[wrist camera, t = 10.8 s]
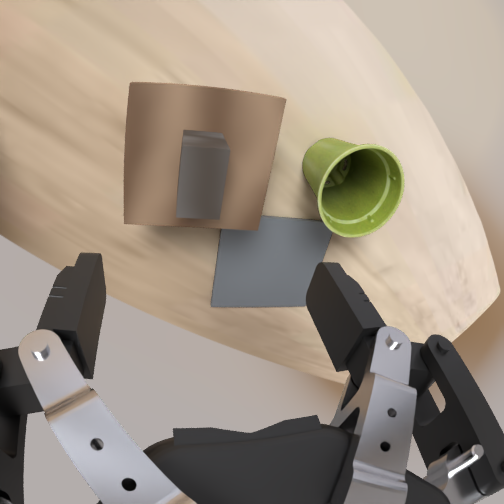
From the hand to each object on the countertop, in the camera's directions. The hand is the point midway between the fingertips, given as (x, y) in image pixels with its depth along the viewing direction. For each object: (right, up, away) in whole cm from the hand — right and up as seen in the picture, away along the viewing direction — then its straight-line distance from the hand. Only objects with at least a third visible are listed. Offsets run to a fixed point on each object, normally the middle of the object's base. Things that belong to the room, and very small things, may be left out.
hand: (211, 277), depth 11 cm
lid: (-3, +9, +13) cm, 16 cm away
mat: (+4, -1, +29) cm, 29 cm away
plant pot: (+10, +11, +23) cm, 27 cm away
